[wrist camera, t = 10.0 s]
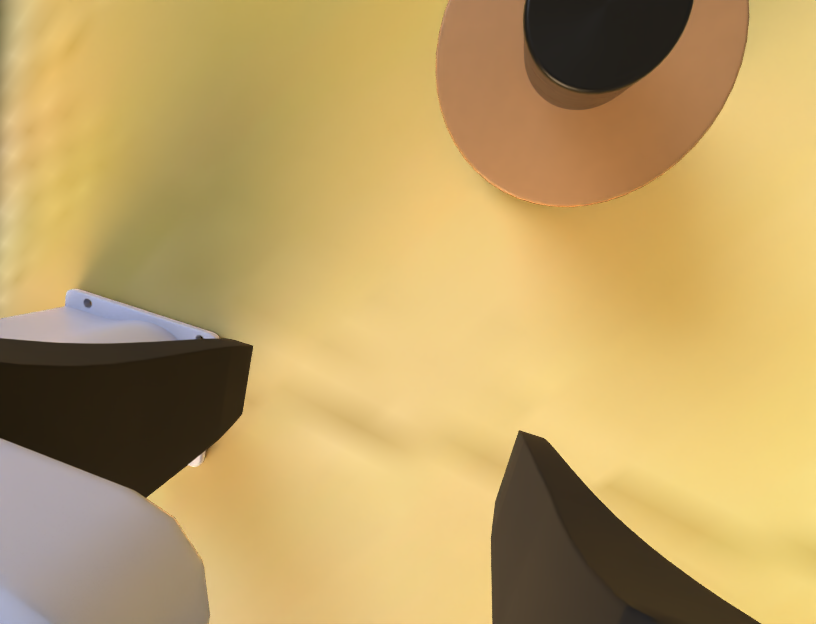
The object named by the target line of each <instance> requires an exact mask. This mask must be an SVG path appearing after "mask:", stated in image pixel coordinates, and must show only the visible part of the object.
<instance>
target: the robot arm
mask: <svg viewBox="0 0 816 624" xmlns="http://www.w3.org/2000/svg"><path fill="white" fill-rule="evenodd" d="M90 301H91V303H92V305H91V303H90ZM201 336H202V337H203V338H204V339H201ZM252 350H253V346H252V345H249V344H245V343H242V342H239V341H236V340H232V339H220V337H219V336H218V335H217V334H216V333H214V332H211V331H208V330H205V329H202V328H198V327H195V326H192V325H189V324H186V323H183V322H180V321H177V320H174V319H171V318H167V317H164V316H161V315H158V314H155V313H152V312H149V311H146V310H143V309H140V308H136V307H133V306H130V305H127V304H124V303H121V302H118V301H115V300H112V299H109V298H105V297H102V296H99V295H96V294H93V293H90V292H87V291H84V290H81V289H71V290H68V292H67V293H66V301H65V306H64V307H59V308H54V309H48V310H43V311H38V312H33V313H27V314H22V315H17V316H11V317H6V318H1V319H0V624H209V618H210V612H209V603H208V595H207V587H206V579H205V571H204V565H203V561H202V559H201V557H200V556H199V554H198V552H197V551H196V549H195V548H194V546H193V545H192V543H191V542H190V540H189V539H188V537H187V535H186V534H185V532H184V531H183V529H182V528H181V526H180V525H179V523H178V522H177V520H176V518H175V517H173V516H172V515H170V514H169V513H167V512H166V511H164V510H163V509H161V508H160V507H158V506H157V505H155V504H154V503H152V502H151V501H149V500H148V499H146V497H148V496H149V495H150V494H151V493H153V492H154V491H155V490H156V489H158V488H159V487H160V486H161V485H163V484H164V483H165V482H167V481H168V480H169V479H170V478H172V477H173V476H174V475H175V474H177V473H178V472H179V471H180V470H182V469H183V468H184V467H186V466H187V465H189V466H192V467H197V466H199V465H200V464H201V463H203V462H204V459H205V452H206V450H207V449H208V448H209V447H211V446H212V445H213V444H214V443H215V442H216V441H218V440H219V439H220V438H221V437H222V436H223V435H224V434H225V432H226V431H227V430H228V429H229V428H230V427H231V426H232V425H233V424H234V423H235V422H236V421H237V419H238V418H239V417H240V416H241V415H242V412H243V406H244V399H245V393H246V387H247V381H248V375H249V369H250V362H251V356H252ZM491 571H492V620H493V624H761V623H759V622H758V621H756V620H754V619H753V618H751V617H750V616H748V615H747V614H745V613H743V612H742V611H740V610H739V609H737V608H735V607H734V606H732V605H731V604H729V603H728V602H726V601H724V600H723V599H721V598H720V597H718V596H717V595H716V594H714V593H713V592H711V591H710V590H708V589H707V588H705V587H704V586H702V585H701V584H699V583H698V582H697V581H695V580H694V579H692V578H691V577H690V576H688V575H687V574H686V573H684V572H683V571H682V570H680V569H679V568H678V567H676V566H675V565H673V564H672V563H671V562H669V561H668V560H667V559H665V558H664V557H663V556H662V555H660V554H659V553H658V552H657V551H655V550H654V549H653V548H652V547H650V546H649V545H648V544H647V543H646V542H644V541H643V540H642V539H641V538H640V537H639V536H638V535H636V534H635V533H634V532H633V531H632V530H631V529H629V528H628V527H627V526H626V525H625V524H624V523H623V522H622V521H621V520H619V519H618V518H617V517H616V516H615V515H614V514H613V513H612V512H611V511H610V510H609V509H608V508H607V507H606V506H605V505H604V504H603V503H602V502H601V501H600V500H599V499H598V498H597V497H596V496H595V495H594V494H593V492H592V491H591V490H590V489H589V488H588V487H587V486H586V485H585V484H584V483H583V481H582V480H581V479H580V478H579V477H578V476H577V475H576V474H575V472H574V471H573V470H572V469H571V468H570V467H569V465H568V464H567V463H566V462H565V461H564V459H563V458H562V457H561V456H560V455H559V454H558V452H557V451H556V450H555V449H554V448H553V447H552V445H551V444H550V443H549V442H548V441H547V440H546V439H544V438H542V437H538V436H535V435H532V434H529V433H526V432H523V431H520V430H519V432H518V435H517V438H516V441H515V444H514V447H513V450H512V453H511V456H510V459H509V462H508V465H507V468H506V471H505V474H504V477H503V480H502V483H501V486H500V489H499V492H498V495H497V498H496V501H495V509H494V517H493V525H492V534H491Z"/></svg>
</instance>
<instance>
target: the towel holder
mask: <svg viewBox="0 0 816 624" xmlns="http://www.w3.org/2000/svg"><path fill="white" fill-rule="evenodd" d="M748 25H749V0H449V1H448V4H447V7H446V9H445V12H444V16H443V20H442V23H441V27H440V31H439V37H438V44H437V51H436V84H437V94H438V98H439V103H440V108H441V112H442V115H443V118H444V121H445V124H446V127H447V129H448V131H449V133H450V135H451V137H452V139H453V141H454V143H455V145H456V146H457V148H458V149H459V151H460V153H461V154H462V156H463V157H464V158H465V160H466V161H467V162H468V163H469V164H470V165H471V166H472V168H473V169H474V170H475V171H476V172H477V173H479V174H480V175H481V176H482V177H483V178H484V179H485V180H487V181H488V182H489V183H491V184H492V185H494V186H495V187H497V188H498V189H500V190H501V191H503V192H505V193H508V194H510V195H512V196H514V197H516V198H519V199H522V200H525V201H528V202H531V203H535V204H541V205H547V206H558V207H574V206H586V205H592V204H596V203H601V202H606V201H609V200H612V199H615V198H618V197H621V196H624V195H626V194H628V193H630V192H633V191H635V190H637V189H639V188H641V187H643V186H645V185H646V184H648V183H650V182H651V181H653V180H655V179H656V178H658V177H659V176H661V175H662V174H664V173H665V172H666V171H668V170H669V169H670V168H671V167H673V166H674V165H675V164H676V163H678V162H679V161H680V160H681V159H682V158H683V157H684V156H685V155H686V154H687V153H688V152H689V151H690V150H691V149H692V148H693V147H694V146H695V145H696V144H697V143H698V142H699V140H700V139H701V138H702V137H703V136H704V134H705V133H706V132H707V131H708V129H709V128H710V127H711V125H712V124H713V122H714V121H715V119H716V118H717V116H718V115H719V113H720V111H721V110H722V108H723V106H724V104H725V102H726V100H727V98H728V96H729V94H730V92H731V90H732V88H733V86H734V84H735V81H736V78H737V75H738V73H739V70H740V67H741V64H742V60H743V56H744V51H745V47H746V43H747V35H748Z"/></svg>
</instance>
